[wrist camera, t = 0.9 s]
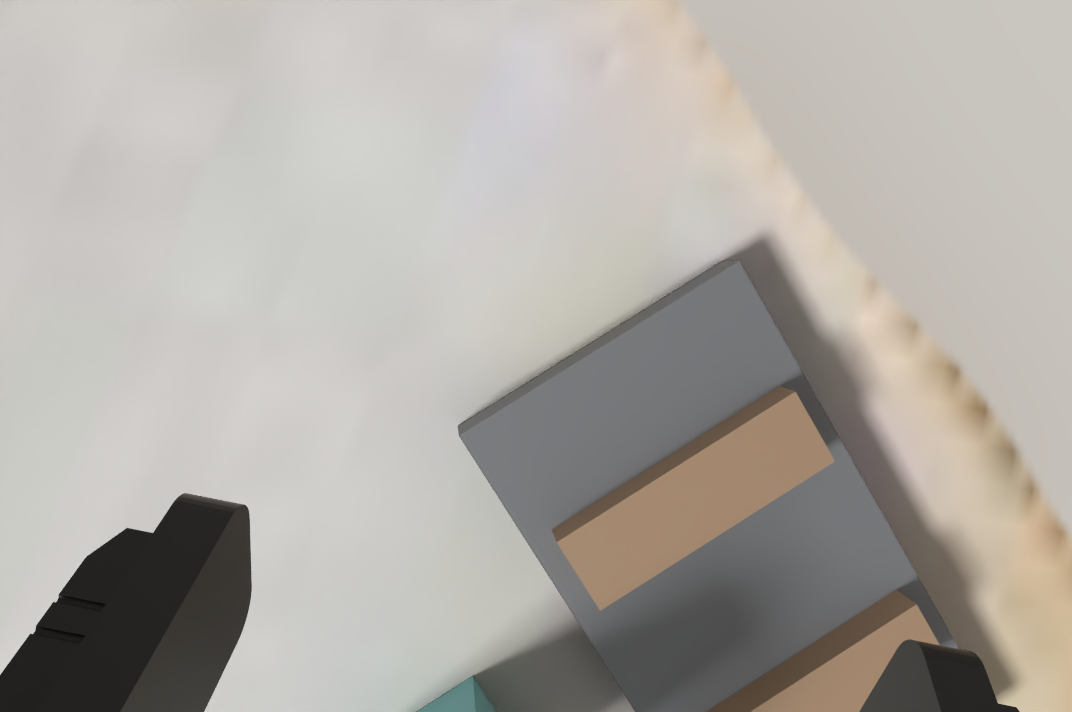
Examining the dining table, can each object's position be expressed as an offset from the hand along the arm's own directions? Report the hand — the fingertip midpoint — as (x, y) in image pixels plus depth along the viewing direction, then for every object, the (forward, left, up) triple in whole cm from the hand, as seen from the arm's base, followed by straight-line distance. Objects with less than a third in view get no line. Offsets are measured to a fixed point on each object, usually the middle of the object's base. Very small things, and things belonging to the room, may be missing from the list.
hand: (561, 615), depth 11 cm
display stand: (+12, +4, -23) cm, 27 cm away
